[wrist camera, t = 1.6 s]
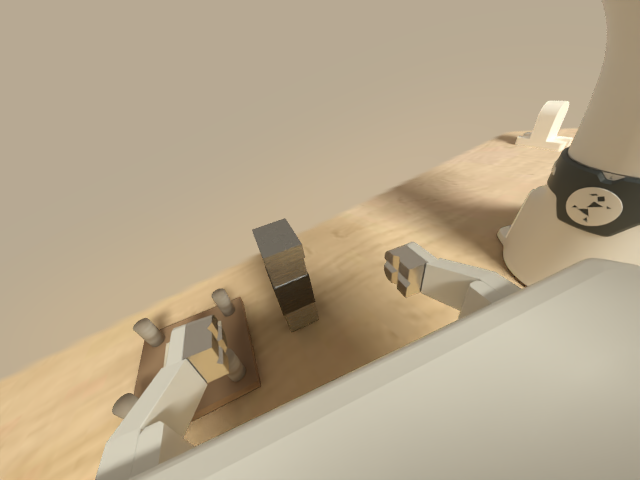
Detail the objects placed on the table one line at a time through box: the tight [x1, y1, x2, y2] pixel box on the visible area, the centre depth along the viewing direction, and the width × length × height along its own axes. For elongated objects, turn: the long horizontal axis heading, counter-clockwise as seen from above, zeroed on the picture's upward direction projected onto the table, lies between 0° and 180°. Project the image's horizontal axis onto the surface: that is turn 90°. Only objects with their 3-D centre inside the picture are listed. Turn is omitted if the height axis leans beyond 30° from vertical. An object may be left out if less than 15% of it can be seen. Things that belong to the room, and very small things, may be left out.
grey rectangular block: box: [252, 219, 319, 332], centre depth 26 cm, size 4×5×13 cm
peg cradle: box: [112, 289, 261, 422], centre depth 26 cm, size 12×12×5 cm
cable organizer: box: [515, 101, 573, 151], centre depth 58 cm, size 5×10×10 cm, turn 32°
